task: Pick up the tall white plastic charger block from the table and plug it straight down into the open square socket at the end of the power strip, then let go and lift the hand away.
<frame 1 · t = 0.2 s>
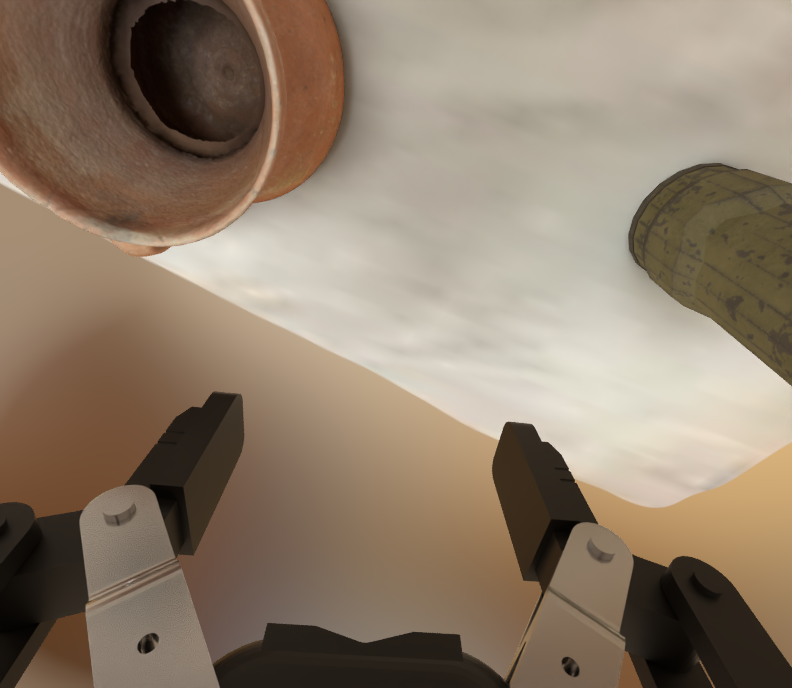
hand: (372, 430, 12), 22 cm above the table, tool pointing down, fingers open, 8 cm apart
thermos: (687, 221, 31), on the table
ceramic jug: (233, 80, 26), on the table
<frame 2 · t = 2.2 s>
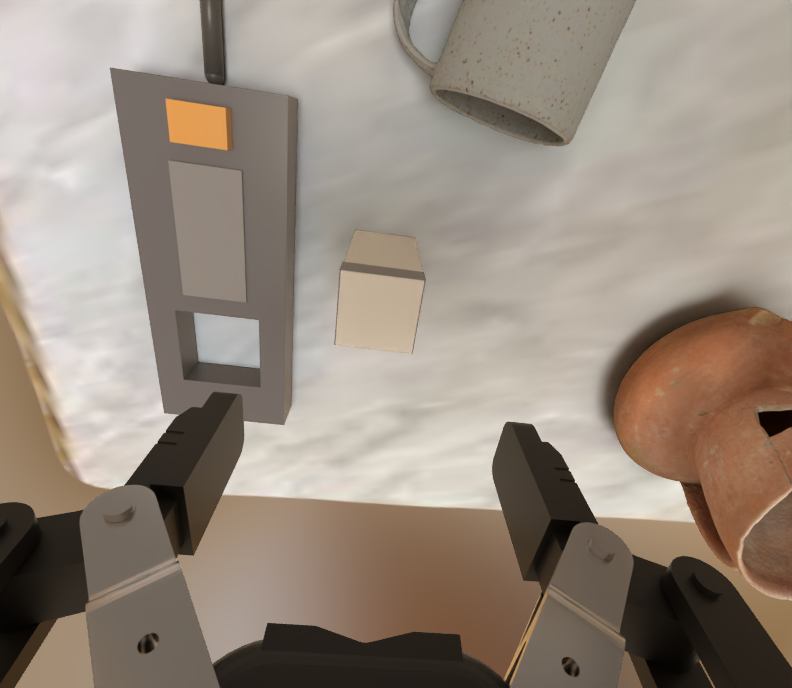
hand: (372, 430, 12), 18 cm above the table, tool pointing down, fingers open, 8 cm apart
charger: (381, 262, 28), on the table
power strip: (228, 271, 28), on the table
ceramic jug: (684, 385, 33), on the table
ceramic mug: (488, 44, 23), on the table
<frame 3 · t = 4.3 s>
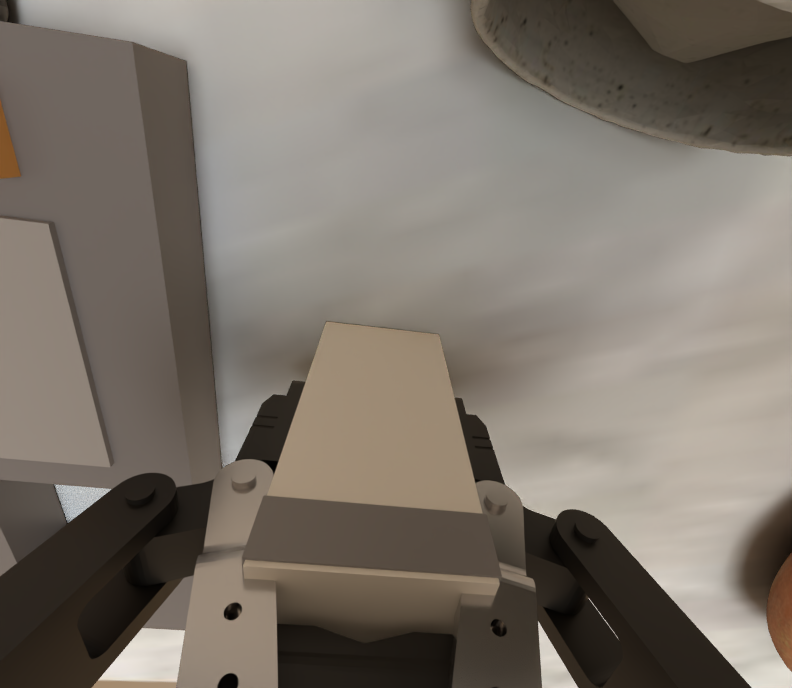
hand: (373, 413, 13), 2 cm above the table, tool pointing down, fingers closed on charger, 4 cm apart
charger: (376, 375, 15), on the table, touching gripper
power strip: (94, 390, 15), on the table
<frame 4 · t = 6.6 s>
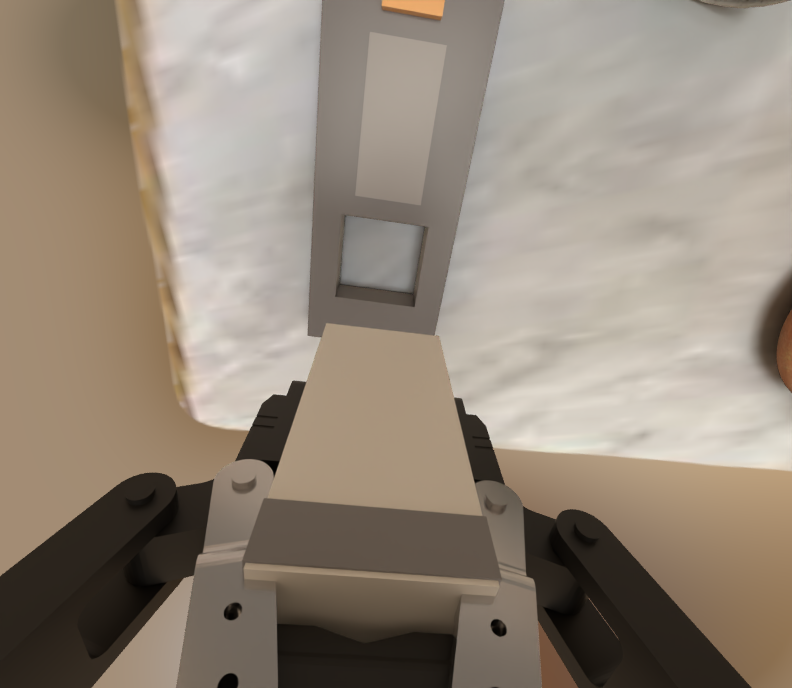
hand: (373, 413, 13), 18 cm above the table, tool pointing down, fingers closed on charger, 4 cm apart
charger: (376, 377, 15), point 16 cm above the table, touching gripper
power strip: (390, 178, 26), on the table
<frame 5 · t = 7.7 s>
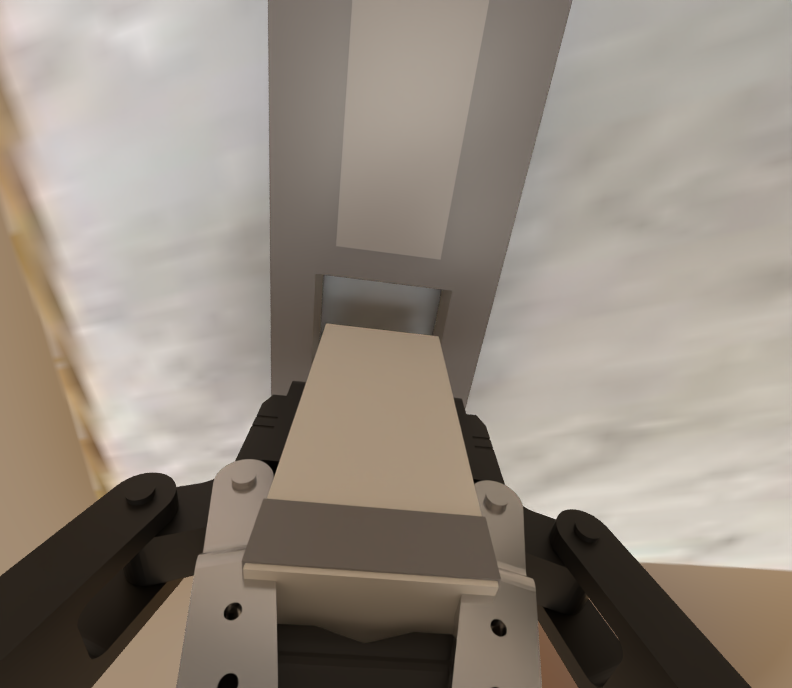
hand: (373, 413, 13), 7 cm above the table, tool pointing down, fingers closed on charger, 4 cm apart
charger: (376, 377, 15), point 5 cm above the table, touching gripper
power strip: (391, 213, 17), on the table
when the fingers open (4 cm above the table, at t = 8.8 s): charger drops 1 cm, resting in power strip.
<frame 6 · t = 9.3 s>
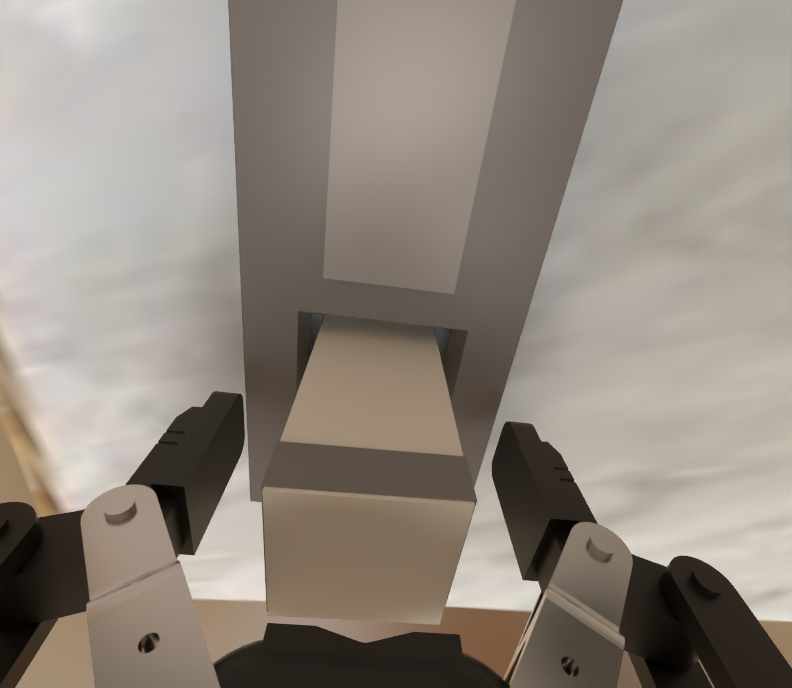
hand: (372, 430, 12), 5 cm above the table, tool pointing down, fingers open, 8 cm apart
charger: (375, 356, 16), resting in power strip
power strip: (393, 233, 14), on the table
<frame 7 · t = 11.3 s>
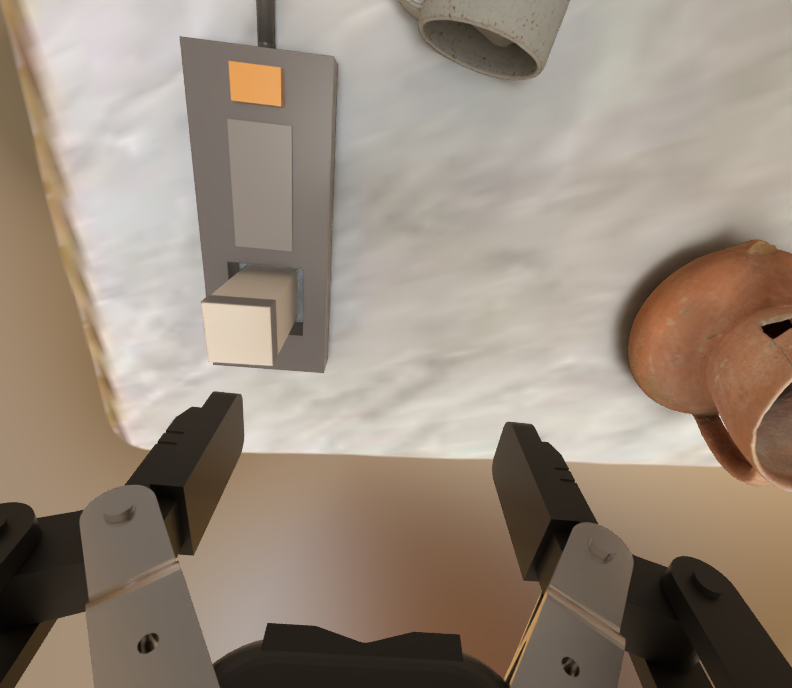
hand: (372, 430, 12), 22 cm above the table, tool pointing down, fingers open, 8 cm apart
charger: (273, 290, 33), resting in power strip
power strip: (272, 227, 31), on the table
ceramic jug: (691, 326, 36), on the table
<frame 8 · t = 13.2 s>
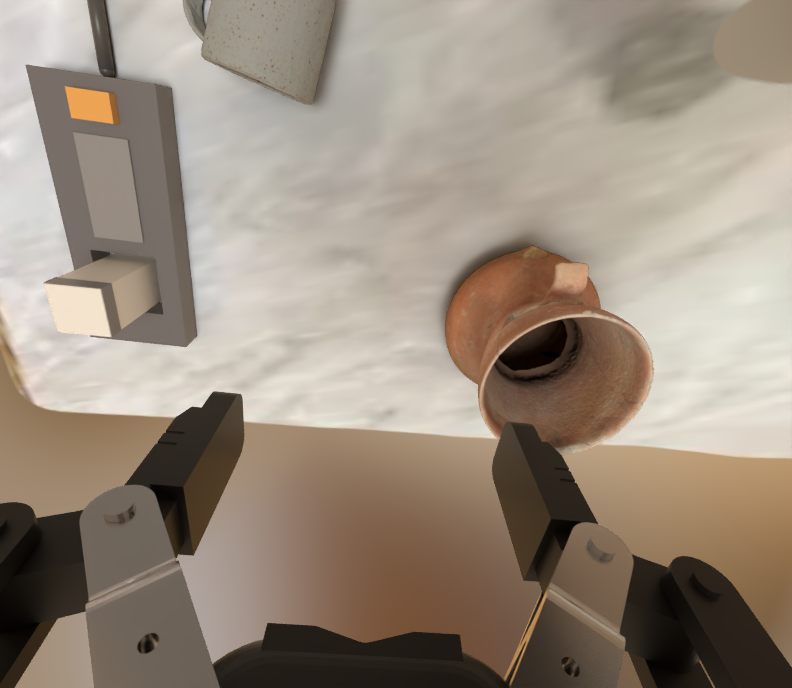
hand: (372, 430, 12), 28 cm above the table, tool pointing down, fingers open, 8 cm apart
charger: (142, 274, 39), resting in power strip
power strip: (134, 222, 37), on the table
ceramic jug: (511, 317, 42), on the table
ceramic mug: (267, 29, 31), on the table
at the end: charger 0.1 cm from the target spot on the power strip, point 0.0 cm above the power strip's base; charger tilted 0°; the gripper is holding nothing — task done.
